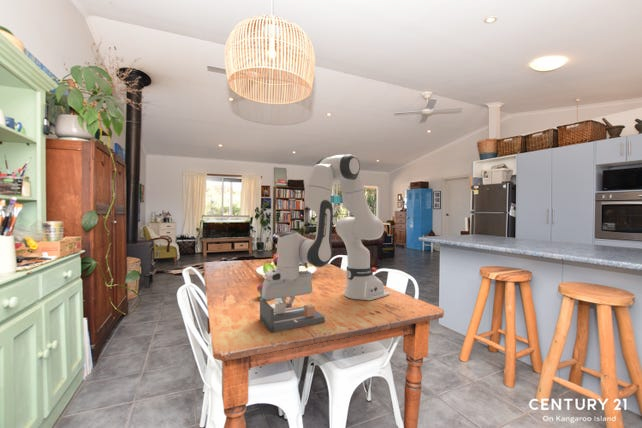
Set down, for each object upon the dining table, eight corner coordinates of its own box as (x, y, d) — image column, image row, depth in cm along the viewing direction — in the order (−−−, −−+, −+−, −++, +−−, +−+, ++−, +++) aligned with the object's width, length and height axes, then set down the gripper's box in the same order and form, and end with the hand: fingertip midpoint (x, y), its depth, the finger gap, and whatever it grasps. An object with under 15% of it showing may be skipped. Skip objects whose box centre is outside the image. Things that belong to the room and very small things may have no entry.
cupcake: (277, 298, 137) (278, 273, 137) (261, 301, 132) (261, 275, 132) (270, 294, 144) (270, 270, 144) (254, 296, 140) (254, 272, 139)
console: (308, 310, 122) (308, 291, 122) (325, 322, 109) (325, 301, 108) (259, 318, 112) (259, 298, 112) (271, 333, 99) (271, 309, 99)
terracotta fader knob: (311, 313, 111) (311, 304, 111) (314, 315, 109) (314, 306, 109) (304, 314, 110) (304, 305, 110) (307, 317, 107) (307, 307, 107)
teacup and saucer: (267, 311, 121) (267, 302, 120) (266, 305, 128) (266, 296, 128) (288, 310, 123) (288, 300, 123) (285, 304, 131) (285, 295, 130)
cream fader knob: (282, 310, 114) (282, 301, 114) (285, 312, 112) (285, 303, 112) (275, 311, 113) (275, 302, 113) (277, 314, 110) (277, 304, 110)
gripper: (308, 268, 121) (308, 301, 121) (260, 273, 112) (260, 309, 112) (315, 271, 115) (315, 306, 116) (265, 276, 106) (265, 314, 106)
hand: (287, 307), depth 114 cm, fingers closed
